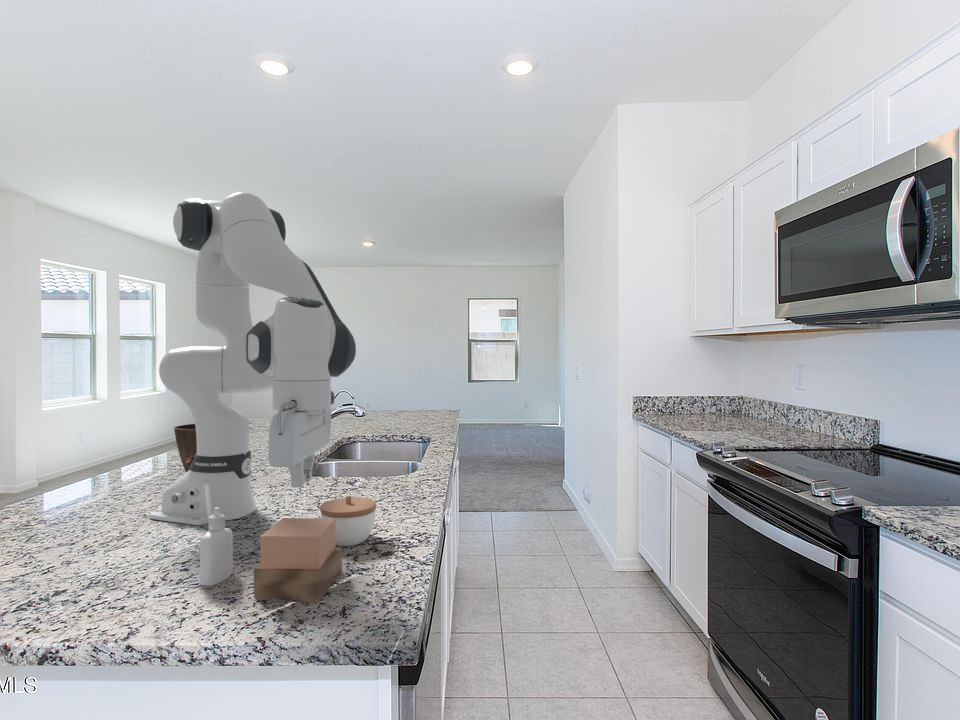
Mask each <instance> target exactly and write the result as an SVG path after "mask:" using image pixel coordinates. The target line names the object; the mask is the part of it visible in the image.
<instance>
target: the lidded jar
mask: <svg viewBox="0 0 960 720" xmlns="http://www.w3.org/2000/svg"><path fill="white" fill-rule="evenodd" d="M376 508H377V502H376V501H375V500H373V499H370V498H367V497H357V496H353V497H352V495H345V497H342V498H341V497H339V498H335V499H331V500H327V501H325V502H324V503H322V504H321V505H320V518H328V519H336V545H335V547H336V546H337V547H353V546H357V545H360V544H362V543H364V542H365V541H366V540H367V539H368V538H369V537H370V536H371V533H372V531H373V529H374V526H375V523H376V522H375V520H376Z"/></svg>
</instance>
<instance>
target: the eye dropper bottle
mask: <svg viewBox="0 0 960 720" xmlns="http://www.w3.org/2000/svg"><path fill="white" fill-rule="evenodd" d="M233 573H234V536H233V531H232V530H231V529H230V528H228V527H226V520H225V515H223V514H221V513H220V509H219V507H216V508H214V513H213V515H211V516H210V517H209V523H208V531H207V532H206V533H205V534H203V536H202V537H201V539H200V541H199V585H200V586H202V587H203V586H205V587H212V586H215V585H218V584H220V583H222V582H224V581H225V580H227V579H228V578H230V577H231V576H232V574H233Z"/></svg>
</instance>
